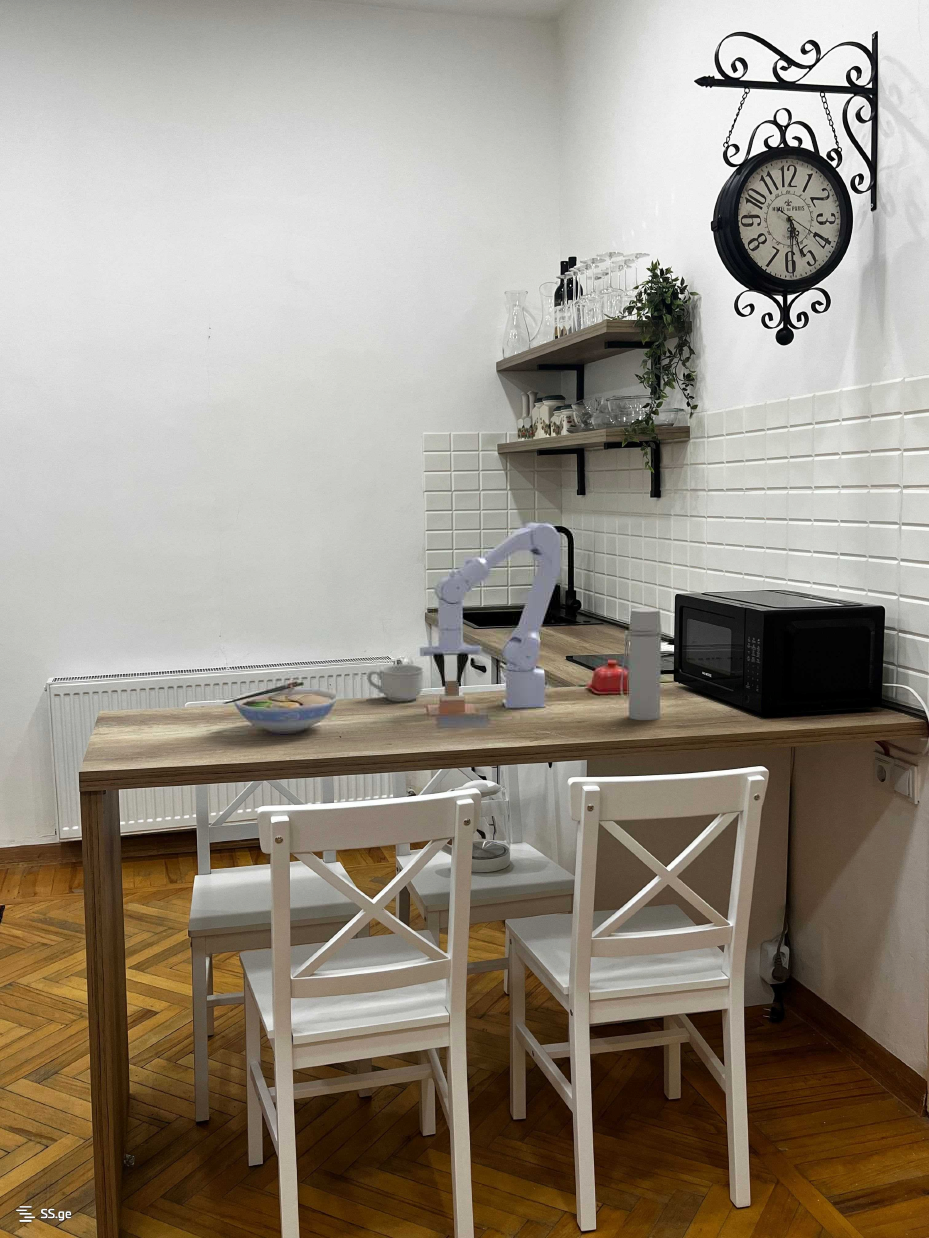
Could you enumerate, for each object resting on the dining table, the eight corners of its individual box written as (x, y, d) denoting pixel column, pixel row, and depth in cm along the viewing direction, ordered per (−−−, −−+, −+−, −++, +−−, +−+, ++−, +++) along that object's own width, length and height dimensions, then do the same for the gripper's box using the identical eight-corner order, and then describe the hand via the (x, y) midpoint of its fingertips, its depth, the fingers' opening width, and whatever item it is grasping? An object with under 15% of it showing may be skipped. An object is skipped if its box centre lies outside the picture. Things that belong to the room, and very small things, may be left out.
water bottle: (664, 717, 244) (666, 608, 241) (655, 724, 237) (657, 612, 234) (625, 714, 248) (626, 607, 245) (615, 721, 241) (616, 611, 238)
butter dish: (639, 696, 270) (640, 663, 269) (595, 698, 269) (595, 664, 268) (627, 688, 282) (627, 656, 280) (584, 689, 280) (584, 657, 279)
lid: (461, 695, 254) (461, 679, 254) (464, 699, 249) (464, 683, 249) (439, 696, 253) (439, 680, 253) (442, 700, 248) (442, 684, 248)
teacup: (426, 695, 273) (425, 664, 272) (420, 704, 262) (420, 671, 261) (372, 694, 274) (371, 664, 273) (364, 703, 264) (363, 671, 263)
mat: (487, 716, 247) (487, 714, 247) (492, 728, 235) (492, 726, 235) (435, 717, 246) (435, 716, 246) (438, 729, 234) (438, 727, 234)
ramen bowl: (288, 748, 218) (287, 709, 217) (207, 735, 230) (206, 698, 229) (363, 725, 239) (362, 689, 238) (285, 714, 251) (284, 680, 250)
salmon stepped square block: (472, 705, 259) (472, 691, 259) (476, 715, 248) (476, 700, 248) (427, 706, 258) (427, 692, 258) (429, 716, 248) (428, 701, 247)
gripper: (479, 625, 255) (480, 681, 257) (419, 626, 254) (419, 683, 256) (482, 629, 248) (482, 687, 250) (419, 630, 247) (420, 688, 249)
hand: (451, 685), depth 253 cm, fingers closed on lid, 3 cm apart
